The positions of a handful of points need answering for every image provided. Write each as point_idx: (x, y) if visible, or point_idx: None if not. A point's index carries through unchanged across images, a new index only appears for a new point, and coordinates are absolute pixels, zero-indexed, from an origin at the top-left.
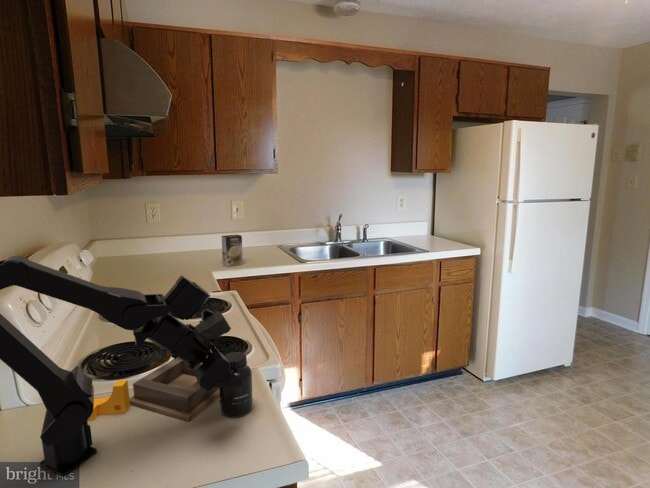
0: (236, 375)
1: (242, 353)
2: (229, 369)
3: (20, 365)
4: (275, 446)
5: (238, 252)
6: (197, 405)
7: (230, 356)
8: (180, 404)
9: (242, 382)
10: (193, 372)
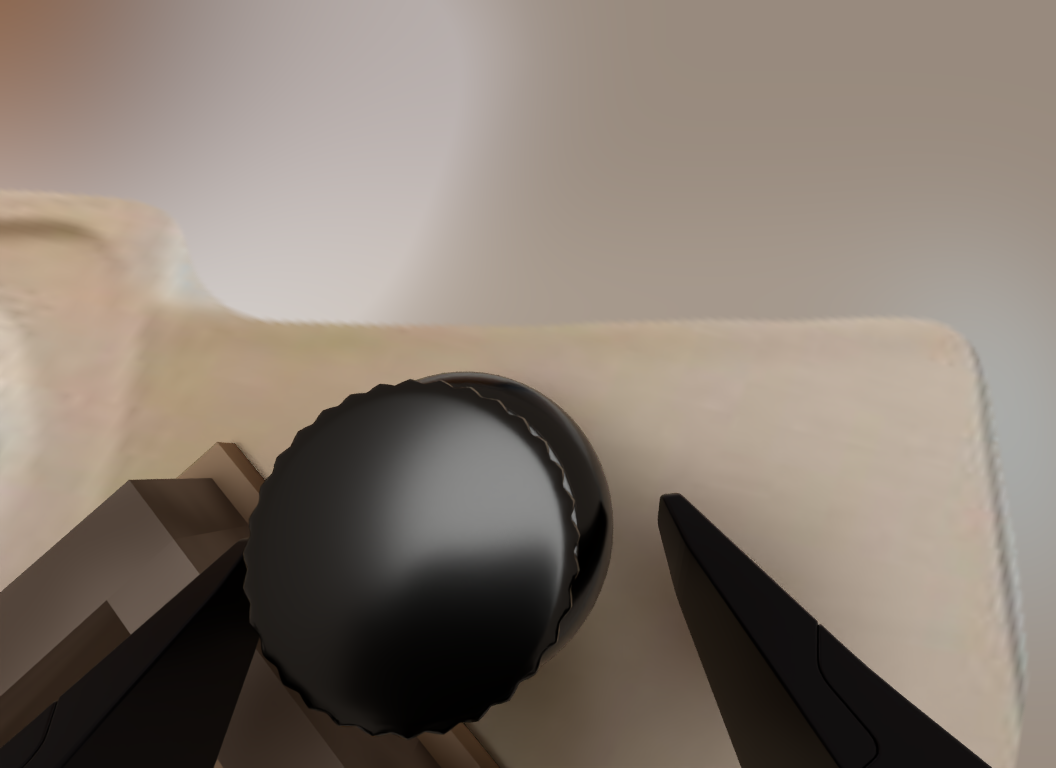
0: (591, 539)
1: (351, 415)
2: (894, 749)
3: None
4: (854, 393)
5: None
6: None
7: (366, 609)
8: None
9: (682, 496)
10: (15, 725)
